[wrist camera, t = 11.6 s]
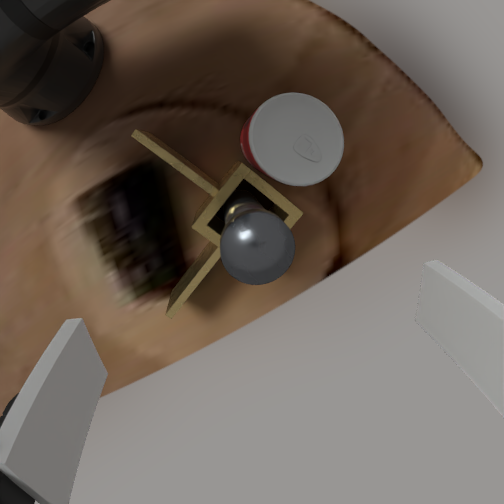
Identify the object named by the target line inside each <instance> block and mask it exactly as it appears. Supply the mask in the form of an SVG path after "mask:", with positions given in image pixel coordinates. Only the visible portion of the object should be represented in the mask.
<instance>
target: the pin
mask: <svg viewBox="0 0 504 504" xmlns="http://www.w3.org/2000/svg"><path fill="white" fill-rule="evenodd" d="M223 210H224V220H225V227H224V229H223V231H222V234H221V238H220V255H221V260H222V263H223V265H224V267H225V269H226V270H227V271H228V273H229V274H230V275H231V276H232V277H234V278H235V279H237V280H238V281H241V282H243V283H246V284H251V285H261V284H266V283H269V282H272V281H274V280H276V279H277V278H279V277H280V276H282V275H283V274H284V273H285V272H286V271H287V269H288V268H289V266H290V265H291V263H292V261H293V258H294V254H295V241H294V237H293V235H292V232H291V230H290V229H289V227H288V226H287V225H286V224H285V223H284V222H283V220H282V219H281V218H280V217H278V216H277V215H276V214H274V213H272V212H270V211H267V210H265V209H264V208H263V206H262V205H261V204H260V203H259V201H258V200H257V199H256V198H255V196H254V195H253V194H252V193H250V192H248V191H246V190H236V191H233V192H232V193H231V195H230V196H229V197H228V198H227V200H226V201H225V202H224V204H223Z"/></svg>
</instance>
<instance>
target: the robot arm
mask: <svg viewBox="0 0 504 504" xmlns="http://www.w3.org/2000/svg"><path fill="white" fill-rule="evenodd" d="M108 1H110V0H0V109H2V110H3V111H4V112H6V113H7V114H8V115H9V116H11V117H12V118H13V119H15V120H16V121H18V122H20V123H23V124H28V125H47V124H51V123H54V122H56V121H59V120H61V119H62V118H64V117H66V116H67V115H68V114H70V113H71V112H72V111H74V110H75V109H76V108H77V107H78V106H79V105H80V104H81V103H82V102H83V100H84V99H85V98H86V97H87V95H88V94H89V92H90V91H91V89H92V88H93V86H94V84H95V82H96V80H97V78H98V75H99V73H100V70H101V66H102V62H103V55H104V46H103V40H102V37H101V34H100V32H99V31H98V29H97V28H96V27H95V26H94V25H93V24H92V23H91V22H90V21H89V20H88V19H86V18H85V17H83V16H84V15H86V14H87V13H89V12H91V11H92V10H94V9H96V8H97V7H99V6H101V5H103V4H105V3H106V2H108ZM415 321H416V322H417V323H418V324H419V325H420V326H421V327H422V328H423V330H425V331H426V333H428V334H429V336H430V337H431V338H432V339H433V340H434V341H435V342H436V343H437V344H438V345H439V346H440V347H441V348H442V349H443V350H444V351H445V352H446V353H447V354H448V355H449V357H450V358H451V359H452V360H453V361H454V362H455V363H456V364H457V365H458V366H459V367H460V368H461V370H462V371H463V372H464V373H465V374H466V375H467V376H468V377H469V378H470V380H471V381H472V382H473V383H474V384H475V385H476V386H477V387H478V389H479V390H480V391H481V392H482V393H483V394H484V395H485V397H486V398H487V399H488V400H489V401H490V402H491V404H492V405H493V406H494V407H495V408H496V410H497V411H498V412H499V413H500V414H501V416H502V417H503V418H504V305H503V304H502V303H501V302H499V301H498V300H497V299H495V298H494V297H493V296H491V295H490V294H488V293H487V292H485V291H484V290H483V289H481V288H480V287H478V286H477V285H475V284H474V283H472V282H471V281H469V280H468V279H466V278H465V277H463V276H462V275H460V274H459V273H457V272H456V271H454V270H453V269H451V268H449V267H448V266H446V265H445V264H443V263H441V262H440V261H439V260H433V261H429V262H425V263H423V271H422V280H421V288H420V294H419V301H418V307H417V312H416V318H415ZM107 375H108V373H107V371H106V369H105V367H104V365H103V363H102V361H101V359H100V357H99V355H98V353H97V351H96V348H95V346H94V344H93V342H92V340H91V337H90V335H89V333H88V331H87V328H86V326H85V324H84V321H83V319H82V318H78V319H67V320H66V321H65V322H64V324H63V325H62V326H61V328H60V329H59V331H58V332H57V334H56V335H55V337H54V338H53V340H52V341H51V343H50V344H49V346H48V347H47V349H46V350H45V352H44V353H43V355H42V356H41V358H40V359H39V361H38V363H37V364H36V366H35V367H34V369H33V371H32V372H31V374H30V376H29V377H28V379H27V381H26V382H25V384H24V386H23V387H22V389H21V391H20V393H18V394H17V395H16V396H15V397H14V398H13V399H12V400H11V401H10V402H9V403H8V405H7V406H6V408H5V410H4V412H3V416H1V417H0V504H34V502H35V500H36V501H37V502H38V503H40V504H69V500H70V496H71V492H72V488H73V483H74V480H75V476H76V472H77V468H78V464H79V461H80V457H81V454H82V450H83V447H84V443H85V440H86V437H87V434H88V431H89V427H90V424H91V421H92V418H93V415H94V412H95V409H96V406H97V403H98V400H99V397H100V394H101V392H102V389H103V386H104V383H105V380H106V378H107Z"/></svg>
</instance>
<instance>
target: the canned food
mask: <svg viewBox="0 0 504 504" xmlns="http://www.w3.org/2000/svg"><path fill="white" fill-rule="evenodd" d="M240 145H241V149H242V152H243V155H244V157H245V158H246V160H247V161H248V163H249V164H250V165H251V166H252V167H254V168H255V169H256V170H258V171H260V172H261V173H263V174H265V175H267V176H269V177H270V178H272V179H274V180H277V181H279V182H281V183H284V184H288V185H292V186H308V185H313V184H316V183H318V182H321V181H323V180H324V179H326V178H327V177H329V176H330V175H331V174H332V173H333V172H334V171H335V169H336V168H337V166H338V165H339V163H340V160H341V158H342V155H343V149H344V136H343V132H342V128H341V125H340V123H339V121H338V119H337V117H336V116H335V114H334V113H333V112H332V111H331V109H330V108H329V107H328V106H327V105H325V104H324V103H323V102H321V101H320V100H318V99H316V98H314V97H312V96H310V95H306V94H303V93H293V92H292V93H283V94H280V95H277V96H274V97H272V98H270V99H268V100H267V101H265V102H264V103H263V104H262V105H261V106H260V107H258V108H257V109H256V110H255V112H254V113H253V114H252V115H251V116H250V117H249V118H248V119H247V121H246V122H245V124H244V126H243V128H242V130H241V135H240Z"/></svg>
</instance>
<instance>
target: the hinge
mask: <svg viewBox="0 0 504 504" xmlns="http://www.w3.org/2000/svg"><path fill="white" fill-rule="evenodd" d="M131 136H132V137H133V138H134V139H136V140H137V141H138V142H140V143H141V144H143V145H144V146H145V147H147V148H148V149H149V150H151V151H152V152H154V153H155V154H156V155H158V156H159V157H160V158H162V159H163V160H164V161H166V162H167V163H169V164H170V165H171V166H173V167H174V168H175V169H177V170H178V171H179V172H181V173H182V174H183V175H185V176H186V177H187V178H189V179H190V180H191V181H193V182H194V183H195V184H197V185H198V186H199V187H201V188H202V189H203V190H205V191H206V192H207V193H209V194H210V195H209V197H208V198H207V199H206V200H205V202H204V203H203V204H202V206H201V207H200V208H199V210H198V211H197V212H196V215H195V218H194V221H193V224H192V228H193V229H194V230H196V231H197V232H199V233H200V234H201V235H203V236H204V237H205V238H207V239H208V240H210V242H209V243H208V244H207V246H206V247H205V248H204V250H203V251H202V252H201V253H200V255H199V256H198V257H197V259H196V260H195V261H194V263H193V264H192V265H191V266H190V268H189V269H188V270H187V272H186V273H185V274H184V276H183V277H182V278H181V280H180V281H179V282H178V284H177V285H176V286H175V288H174V289H173V290H172V293H171V296H170V300H169V303H168V307H167V311H166V314H165V315H166V316H168V317H169V318H171V319H172V317H173V316H174V315H175V314H176V312H177V311H178V310H179V309H180V307H181V306H182V305H183V303H184V302H185V301H186V300H187V298H188V297H189V296H190V295H191V293H192V292H193V291H194V289H195V288H196V287H197V286H198V284H199V283H200V282H201V281H202V279H203V278H204V277H205V276H206V274H207V273H208V272H209V271H210V269H211V268H212V267H213V266H214V264H215V263H216V262H217V261H218V259H219V258H220V257H221V255H220V238H221V234H222V231H223V229H224V227H225V222H223V221H222V220H221V219H219V218H218V217H217V216H215V214H216V212H217V211H218V210H219V209H220V207H221V206H222V205H223V203H224V202H225V201H226V200H227V198H228V197H229V196H230V195H231V193H232V192H233V191H234V190H235V188H236V187H237V186H238V185H239V184H240V182H241V181H242V180H243V179H245V180H247V181H248V182H249V183H250V184H252V185H253V186H254V187H255V188H257V189H258V190H259V191H260V192H262V193H263V194H264V195H265V196H267V197H268V198H269V199H270V200H272V201H273V202H274V205H273V206H272V207H271V208H270V209H269V211H270V212H272V213H274V214H276V215H277V216H278V217H280V218H281V219H282V220H283V222H284V223H285V224H286V225H287V226H288V227H289V229H291V228H292V227H293V225H294V224H295V223H296V222H297V221H298V219H299V218H300V217H301V216H302V215H303V212H301V211H300V210H299V209H298V208H297V207H296V206H294V205H293V204H292V203H291V202H290V201H288V200H287V199H286V198H285V197H284V196H282V195H281V194H280V193H279V192H278V191H276V190H275V189H274V188H273V187H272V186H270V185H269V184H268V183H267V182H265V181H264V180H263V179H262V178H260V177H259V176H258V175H257V174H256V173H254V172H253V171H252V170H251V169H249V168H248V167H247V166H245V165H244V164H243V163H241V162H239V161H236V163H235V164H234V165H233V166H232V168H231V169H230V170H229V171H228V172H227V174H226V175H225V176H224V177H223V179H222V180H221V181H220V183H217V182H216V181H215V180H213V179H212V178H211V177H209V176H208V175H207V174H205V173H204V172H203V171H201V170H200V169H199V168H197V167H196V166H195V165H193V164H192V163H191V162H189V161H188V160H187V159H185V158H184V157H183V156H181V155H180V154H179V153H177V152H176V151H174V150H173V149H172V148H170V147H169V146H168V145H166V144H165V143H164V142H162V141H161V140H159V139H158V138H157V137H155V136H154V135H153V134H151V133H150V132H146V131H142V130H138V129H136V130H135V131H134V132H133V134H132V135H131Z"/></svg>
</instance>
